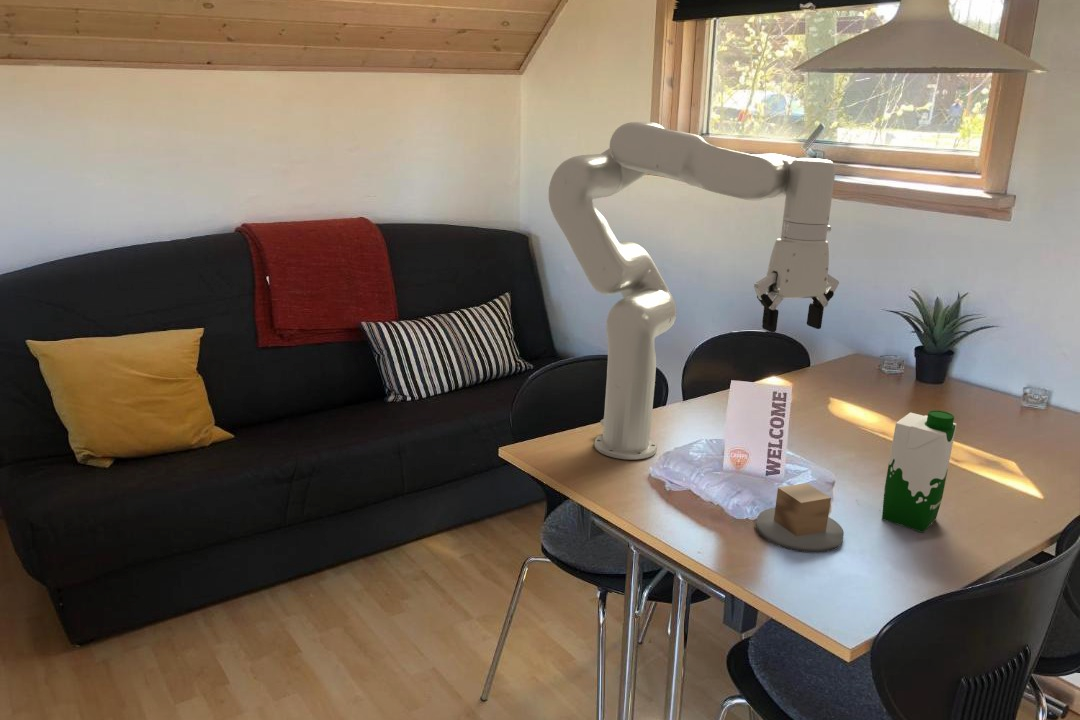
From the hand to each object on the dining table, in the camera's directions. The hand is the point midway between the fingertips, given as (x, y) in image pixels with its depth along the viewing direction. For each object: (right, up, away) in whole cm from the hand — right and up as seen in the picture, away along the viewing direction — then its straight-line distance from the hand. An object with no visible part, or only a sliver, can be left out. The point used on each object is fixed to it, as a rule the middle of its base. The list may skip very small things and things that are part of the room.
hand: (791, 328), depth 158 cm
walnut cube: (-1, -33, -9) cm, 34 cm away
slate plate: (-1, -34, -9) cm, 35 cm away
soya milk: (+20, -33, -2) cm, 39 cm away
